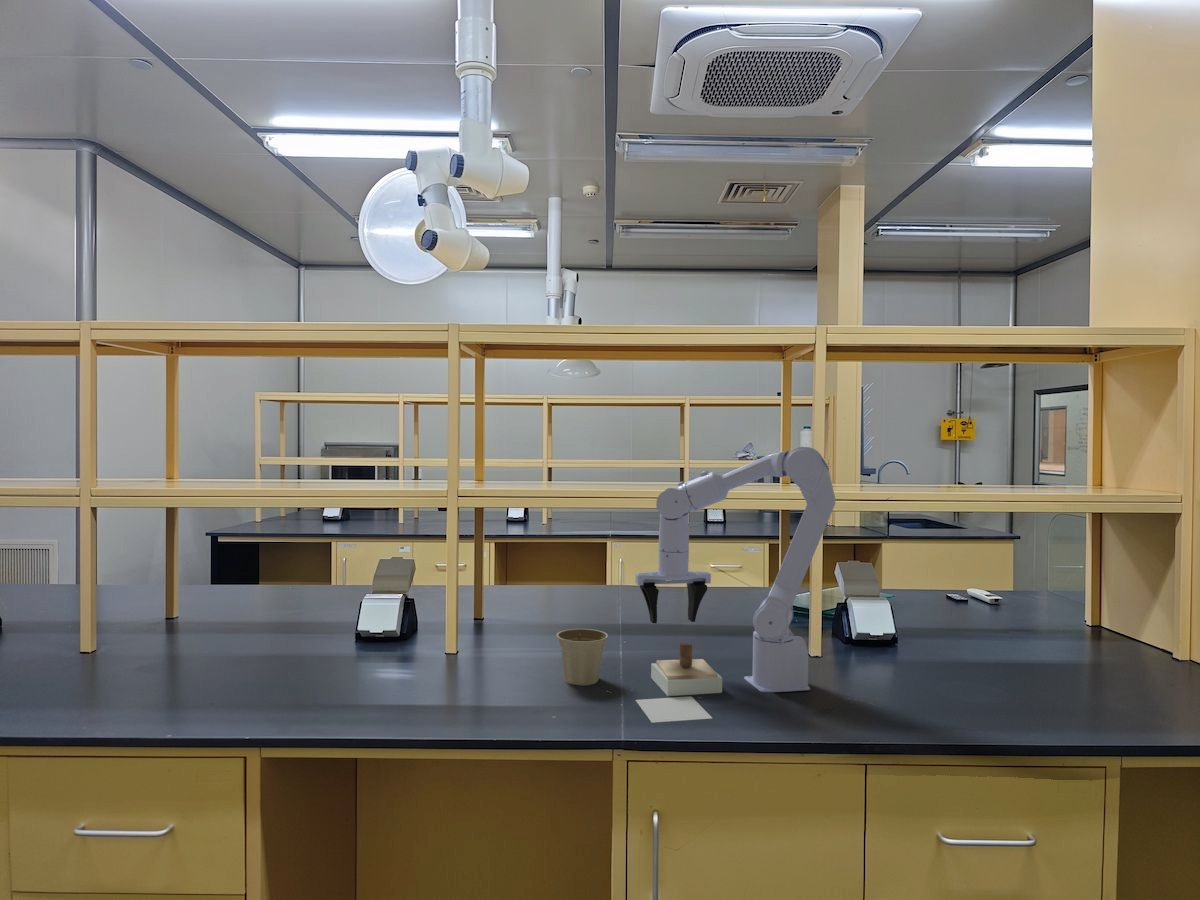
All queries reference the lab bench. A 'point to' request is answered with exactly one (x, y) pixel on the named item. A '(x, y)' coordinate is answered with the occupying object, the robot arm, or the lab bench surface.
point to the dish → (685, 684)
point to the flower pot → (581, 655)
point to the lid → (686, 666)
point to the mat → (672, 709)
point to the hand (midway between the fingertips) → (672, 621)
